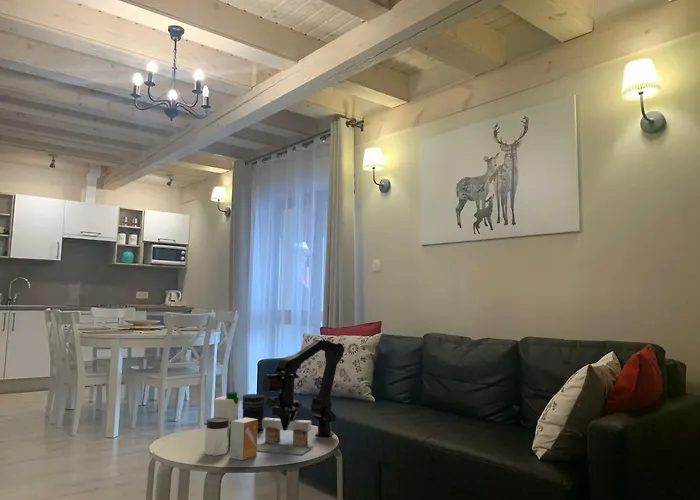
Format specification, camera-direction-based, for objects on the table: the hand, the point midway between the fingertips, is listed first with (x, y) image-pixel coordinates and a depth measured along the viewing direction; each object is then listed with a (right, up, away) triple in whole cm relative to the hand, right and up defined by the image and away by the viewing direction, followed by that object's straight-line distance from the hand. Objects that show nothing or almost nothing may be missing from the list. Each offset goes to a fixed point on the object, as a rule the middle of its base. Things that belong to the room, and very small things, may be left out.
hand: (286, 429), depth 213 cm
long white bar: (0, 0, 0) cm, 0 cm away
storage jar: (-17, -7, +20) cm, 27 cm away
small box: (-13, -3, -22) cm, 26 cm away
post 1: (-6, -5, +1) cm, 8 cm away
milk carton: (-24, -5, -4) cm, 25 cm away
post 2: (+6, -5, -2) cm, 8 cm away
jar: (-24, -3, -17) cm, 30 cm away
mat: (-2, -4, -12) cm, 13 cm away
